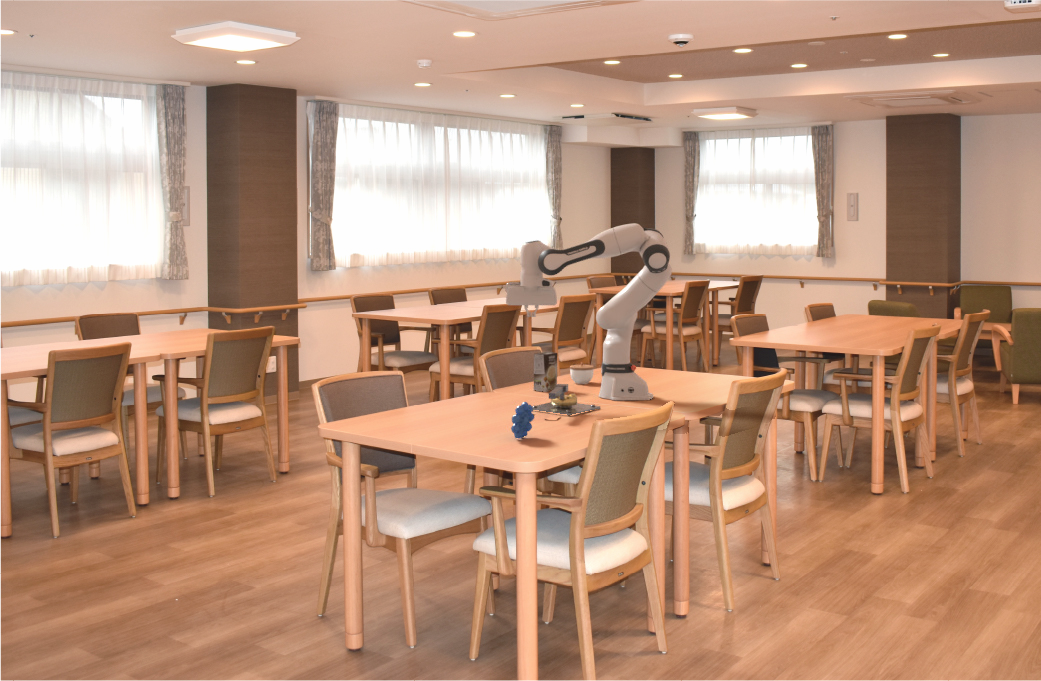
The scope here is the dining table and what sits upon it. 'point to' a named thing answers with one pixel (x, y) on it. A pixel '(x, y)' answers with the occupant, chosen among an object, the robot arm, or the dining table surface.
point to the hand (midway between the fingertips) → (531, 316)
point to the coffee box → (545, 371)
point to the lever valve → (562, 396)
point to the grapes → (522, 420)
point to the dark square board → (565, 408)
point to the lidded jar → (581, 373)
